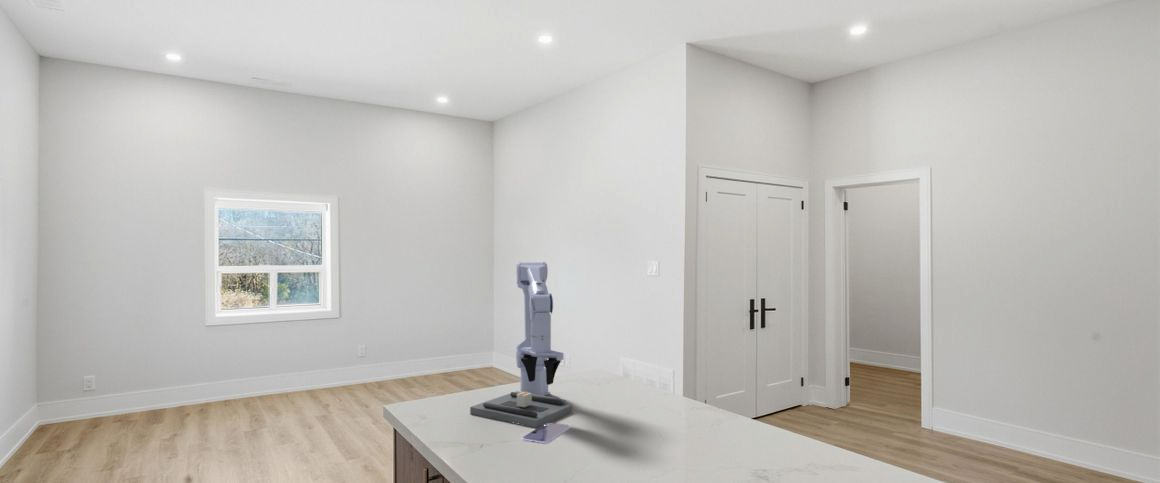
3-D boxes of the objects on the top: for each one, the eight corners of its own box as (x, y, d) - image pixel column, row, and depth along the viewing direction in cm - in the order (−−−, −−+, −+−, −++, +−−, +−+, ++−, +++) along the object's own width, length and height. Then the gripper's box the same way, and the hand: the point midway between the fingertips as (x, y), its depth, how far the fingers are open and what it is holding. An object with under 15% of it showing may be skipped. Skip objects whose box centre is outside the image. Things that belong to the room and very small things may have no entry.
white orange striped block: (524, 403, 174) (524, 391, 174) (531, 404, 172) (531, 392, 172) (516, 405, 171) (516, 393, 171) (524, 407, 169) (524, 395, 169)
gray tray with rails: (515, 394, 185) (515, 390, 185) (568, 404, 174) (568, 399, 174) (479, 407, 171) (479, 402, 171) (535, 418, 160) (535, 413, 160)
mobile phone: (520, 437, 148) (546, 421, 162) (520, 441, 148) (546, 424, 162) (546, 441, 145) (571, 424, 159) (546, 445, 145) (571, 428, 159)
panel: (508, 400, 186) (509, 393, 186) (571, 411, 173) (571, 404, 173) (470, 413, 171) (470, 406, 171) (536, 427, 158) (536, 420, 158)
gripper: (512, 335, 169) (512, 381, 169) (553, 339, 161) (553, 388, 161) (527, 332, 175) (527, 377, 175) (567, 336, 167) (567, 383, 167)
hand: (540, 382), depth 168 cm, fingers open, 6 cm apart
